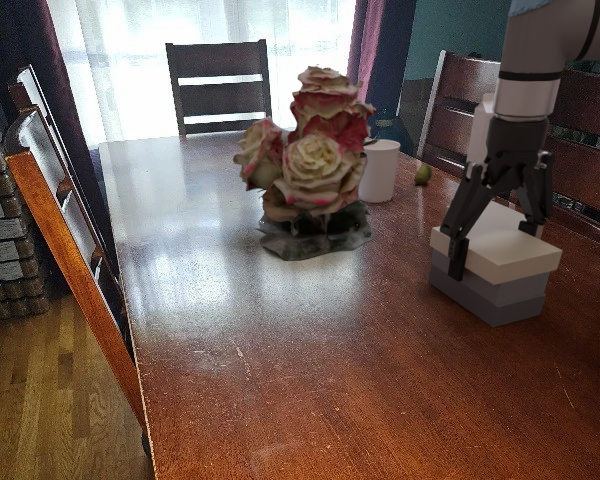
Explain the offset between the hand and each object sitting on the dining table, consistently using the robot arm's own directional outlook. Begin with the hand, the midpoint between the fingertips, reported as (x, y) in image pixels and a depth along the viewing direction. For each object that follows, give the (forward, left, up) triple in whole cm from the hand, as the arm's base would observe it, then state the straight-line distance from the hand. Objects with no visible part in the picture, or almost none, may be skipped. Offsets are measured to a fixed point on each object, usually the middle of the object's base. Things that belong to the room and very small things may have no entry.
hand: (486, 270), depth 81 cm
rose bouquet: (+37, +14, -5) cm, 40 cm away
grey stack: (0, 0, -5) cm, 5 cm away
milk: (+41, -31, -5) cm, 52 cm away
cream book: (0, 0, +2) cm, 2 cm away
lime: (+57, -26, -5) cm, 63 cm away
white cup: (+53, -10, -5) cm, 54 cm away
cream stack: (+17, -15, -5) cm, 23 cm away
